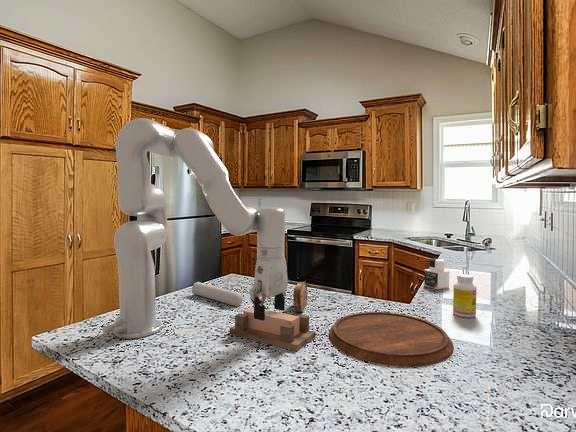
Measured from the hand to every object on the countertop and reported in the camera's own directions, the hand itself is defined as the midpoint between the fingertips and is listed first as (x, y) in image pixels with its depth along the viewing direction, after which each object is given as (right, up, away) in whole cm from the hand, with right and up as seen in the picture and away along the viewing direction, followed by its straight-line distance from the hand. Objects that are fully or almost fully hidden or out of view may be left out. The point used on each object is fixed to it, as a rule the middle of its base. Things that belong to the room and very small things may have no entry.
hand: (269, 314), depth 95 cm
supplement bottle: (+62, -5, +16) cm, 64 cm away
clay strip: (0, -4, 0) cm, 4 cm away
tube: (-21, -5, +34) cm, 40 cm away
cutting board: (+32, -7, -2) cm, 33 cm away
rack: (+1, -6, 0) cm, 6 cm away
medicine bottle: (+69, -3, +52) cm, 86 cm away
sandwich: (+9, -5, +24) cm, 26 cm away
